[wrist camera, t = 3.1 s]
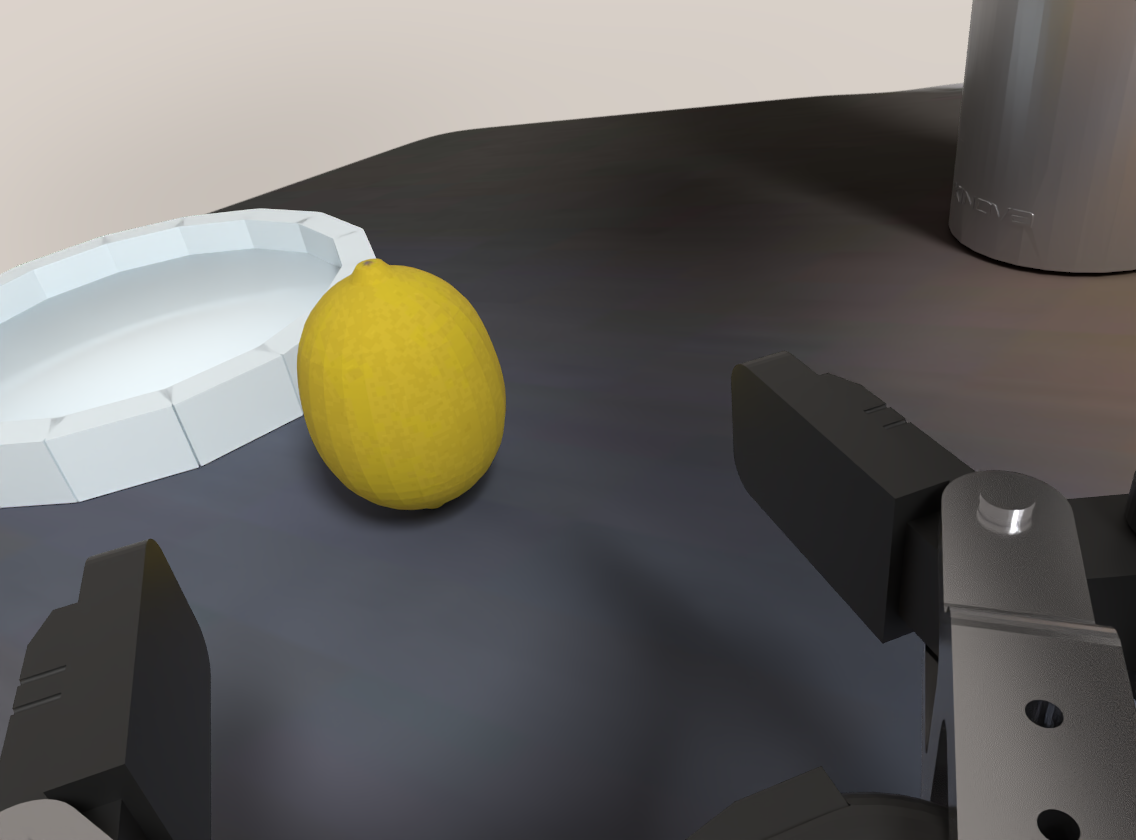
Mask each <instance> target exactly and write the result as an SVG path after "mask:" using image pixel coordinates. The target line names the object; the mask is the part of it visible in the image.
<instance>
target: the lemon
mask: <svg viewBox="0 0 1136 840" xmlns="http://www.w3.org/2000/svg"><path fill="white" fill-rule="evenodd" d="M297 379H298V388H299V396H300V400H301V405H302V409H303V413H304V417H305V421H306V424H307V428H308V431H309V433H310V436H311V438H312V441H313V443H314V445H315V447H316V449H317V451H318V453H319V454H320V456H321V458H322V459H323V461H324V462H325V464H326V465H327V466H328V467H329V469H330V470H331V471H332V472H333V473H334V474H335V476H336V477H337V478H338V479H339V480H340V481H341V482H342V483H343V484H344V485H345V486H346V487H347V488H348V489H350V490H351V491H353V492H354V493H355V494H357V495H359V496H361V497H363V498H365V499H367V500H368V501H371V502H373V503H375V504H377V505H381V506H385V507H389V508H394V509H398V510H418V509H425V508H428V509H435V508H438V507H440V506H442V505H443V504H444V503H446V502H448V501H451V500H453V499H455V498H457V497H459V496H460V495H462V494H463V493H465V492H466V491H467V490H469V489H470V488H471V487H472V486H473V485H474V484H475V483H476V482H477V481H478V480H479V479H480V478H481V477H482V476H483V475H484V474H485V473H486V471H487V470H488V468H489V466H490V465H491V463H492V461H493V459H494V457H495V455H496V453H497V451H498V449H499V446H500V444H501V440H502V436H503V430H504V421H505V412H506V396H505V386H504V380H503V375H502V371H501V367H500V364H499V361H498V358H497V355H496V352H495V350H494V347H493V344H492V342H491V340H490V337H489V335H488V333H487V330H486V328H485V326H484V325H483V323H482V321H481V319H480V317H479V316H478V314H477V312H476V311H475V309H474V308H473V307H472V305H471V304H470V303H469V301H468V300H467V299H466V298H465V297H464V296H463V295H462V294H461V293H459V292H458V291H457V290H456V289H455V288H454V287H453V286H451V285H450V284H448V283H447V282H445V281H444V280H442V279H441V278H439V277H436V276H434V275H432V274H430V273H427V272H425V271H422V270H419V269H416V268H412V267H407V266H398V265H388V264H386V263H385V262H383V261H382V260H380V259H368V260H364V261H362V262H360V263H358V264H357V265H356V267H355V269H354V271H353V272H352V274H351V275H349V276H347V277H346V278H344V279H342V280H341V281H339V282H337V283H336V284H335V285H334V286H332V287H331V288H330V289H329V290H328V291H327V292H326V293H325V294H324V295H323V296H322V297H321V299H320V300H319V301H318V303H317V304H316V305H315V307H314V308H313V309H312V311H311V312H310V314H309V316H308V318H307V320H306V322H305V324H304V328H303V331H302V334H301V338H300V342H299V346H298V354H297Z"/></svg>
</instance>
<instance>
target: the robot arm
mask: <svg viewBox="0 0 1136 840" xmlns="http://www.w3.org/2000/svg"><path fill="white" fill-rule="evenodd" d="M948 225H949V227H950V230H951V233H952V234H953V235H954V236H955V237H956V238H957V239H958V240H959V242H960V243H962V244H964V245H965V246H967V247H969V248H970V249H972V250H973V251H975V252H978V253H980V254H983V255H985V256H988V257H990V258H993V259H996V260H1000V261H1003V262H1007V263H1011V264H1014V265H1018V266H1024V267H1030V268H1036V269H1042V270H1051V271H1063V272H1094V273H1104V272H1116V271H1128V270H1135V269H1136V0H973V4H972V12H971V22H970V31H969V40H968V49H967V59H966V67H965V76H964V85H963V95H962V104H961V113H960V122H959V130H958V140H957V150H956V160H955V169H954V178H953V187H952V196H951V205H950V214H949V223H948ZM731 390H732V417H733V445H734V458H735V464H736V468H737V471H738V474H739V476H740V479H741V481H742V483H743V485H744V487H745V489H746V490H747V492H748V493H749V494H750V496H751V497H752V498H753V499H754V500H755V501H756V502H757V503H758V505H759V506H760V507H761V508H762V509H763V510H764V511H765V512H766V514H767V515H768V516H769V517H770V518H771V519H772V520H773V521H774V522H775V524H776V525H777V526H778V527H779V528H780V529H781V530H782V531H783V533H784V534H785V535H786V536H787V537H788V538H789V539H790V540H791V542H792V543H793V544H794V545H795V546H796V547H797V548H798V549H799V550H800V552H801V553H802V554H803V555H804V556H805V557H806V558H807V559H808V561H809V562H810V563H811V564H812V565H813V566H814V567H815V568H816V569H817V571H818V572H819V573H820V574H821V575H822V576H823V577H824V578H825V580H826V581H827V582H828V583H829V584H830V585H831V586H832V587H833V588H834V590H835V591H836V592H837V593H838V594H839V595H840V596H841V597H842V599H843V600H844V601H845V602H846V603H847V604H848V605H849V606H850V607H851V609H852V610H853V611H854V612H855V613H856V614H857V615H858V616H859V618H860V619H861V620H862V621H863V622H864V623H865V624H866V625H867V627H868V628H869V629H870V630H871V631H872V632H873V633H874V634H875V635H876V637H877V638H878V639H879V640H880V641H881V642H882V643H885V642H888V641H890V640H893V639H896V638H898V637H901V636H903V635H906V634H909V633H911V632H915V633H916V634H917V635H918V636H919V637H920V638H921V639H922V640H923V641H924V648H923V656H922V773H921V796H920V799H919V798H914V797H909V796H905V795H900V794H890V793H880V792H850V793H842V794H841V793H840V792H839V790H838V789H837V788H836V786H835V785H834V783H833V782H832V780H831V779H830V778H829V776H828V775H827V773H826V772H825V770H824V769H823V768H822V766H820V767H818V768H815V769H813V770H811V771H808V772H806V773H803V774H801V775H798V776H796V777H794V778H791V779H789V780H786V781H784V782H781V783H779V784H777V785H774V786H772V787H769V788H767V789H764V790H762V791H760V792H757V793H755V794H752V795H750V796H747V797H745V798H743V799H740V800H738V801H735V802H734V803H733V804H731V805H730V806H729V807H727V808H726V809H725V810H723V811H722V812H721V813H720V814H718V815H717V816H716V817H714V818H713V819H712V820H710V821H709V822H708V823H707V824H705V825H704V826H703V827H701V828H700V829H699V830H697V831H696V832H695V833H694V834H692V835H691V836H690V837H688V838H687V839H686V840H1136V708H1135V703H1134V699H1135V700H1136V471H1135V473H1134V477H1133V481H1132V485H1131V489H1130V492H1129V494H1122V495H1110V496H1099V497H1088V498H1077V499H1066V498H1065V497H1064V496H1063V495H1062V494H1061V493H1060V492H1059V491H1057V490H1056V489H1055V488H1053V487H1052V486H1050V485H1048V484H1047V483H1045V482H1043V481H1041V480H1038V479H1036V478H1033V477H1030V476H1027V475H1024V474H1020V473H1015V472H1009V471H997V470H989V471H978V472H975V471H974V470H973V469H971V468H970V467H969V466H967V465H966V464H965V463H963V462H962V461H961V460H959V459H958V458H957V457H955V456H954V455H953V454H952V453H950V452H949V451H948V450H946V449H945V448H944V447H942V446H941V445H940V444H938V443H937V442H936V441H934V440H933V439H932V438H930V437H929V436H928V435H926V434H925V433H924V432H923V431H921V430H920V429H919V428H917V427H916V426H915V425H913V424H912V423H911V422H910V423H906V420H905V418H904V417H903V416H901V415H900V414H899V413H897V412H896V411H895V410H894V409H892V408H891V407H889V408H887V407H886V403H884V402H883V401H882V400H880V399H879V398H878V397H876V396H875V395H874V394H872V393H871V392H870V391H868V390H867V389H866V388H865V387H863V386H862V385H860V384H857V383H854V382H851V381H849V380H846V379H843V378H840V377H837V376H835V375H832V374H829V373H826V374H823V375H820V376H819V375H817V374H816V373H815V372H814V371H812V370H811V369H810V368H809V367H807V366H806V365H805V364H804V363H802V362H801V361H800V360H799V359H797V358H796V357H795V356H794V355H792V354H791V353H789V352H787V351H781V352H778V353H775V354H771V355H768V356H765V357H761V358H758V359H755V360H751V361H748V362H745V363H741V364H738V365H736V366H735V367H734V369H733V372H732V377H731ZM19 680H20V683H21V686H18V687H17V692H16V696H15V700H14V704H13V710H14V715H11V717H10V721H9V725H8V729H7V733H6V737H5V741H4V746H3V750H2V754H1V758H0V840H211V674H210V662H209V656H208V652H207V647H206V644H205V640H204V637H203V634H202V631H201V629H200V626H199V624H198V622H197V620H196V618H195V616H194V614H193V612H192V610H191V608H190V606H189V604H188V602H187V600H186V598H185V596H184V594H183V592H182V590H181V588H180V586H179V584H178V582H177V580H176V578H175V576H174V574H173V572H172V570H171V568H170V566H169V564H168V562H167V560H166V558H165V556H164V554H163V552H162V550H161V548H160V547H159V545H158V544H157V543H156V542H155V541H154V540H153V539H148V540H144V541H141V542H138V543H134V544H131V545H128V546H124V547H121V548H117V549H114V550H111V551H107V552H104V553H101V554H97V555H94V556H91V557H89V558H88V559H87V560H86V563H85V567H84V573H83V578H82V583H81V589H80V594H79V600H78V603H75V604H71V605H68V606H65V607H62V608H58V609H55V610H53V611H52V612H51V614H50V615H49V616H48V618H47V619H46V621H45V622H44V623H43V625H42V626H41V628H40V629H39V630H38V632H37V633H36V635H35V636H34V637H33V639H32V640H31V641H30V643H29V644H28V646H27V650H26V654H25V658H24V663H23V667H22V671H21V675H20V679H19ZM1133 698H1134V699H1133Z"/></svg>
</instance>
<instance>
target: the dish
mask: <svg viewBox="0 0 1136 840" xmlns="http://www.w3.org/2000/svg"><path fill="white" fill-rule="evenodd" d="M368 259H376V257H375V255H374V253H373V250H372V248H371V246H370V244H369V241H368V239H367V237H366V234H365V232H364V230H363V229H362V228H360V227H357V226H355V225H352V224H350V223H347V222H345V221H342V220H340V219H337V218H335V217H332V216H330V215H327V214H325V213H322V212H310V211H293V210H277V209H250V210H241V211H232V212H223V213H214V214H204V215H196V216H186V217H185V218H184V217H181V218H177V219H173V220H168V221H164V222H160V223H156V224H151V225H147V226H143V227H138V228H134V229H130V230H126V231H121V232H117V233H113V234H108V235H104V236H101V237H98V238H95V239H93V240H89V241H87V242H84V243H81V244H78V245H75V246H72V247H69V248H67V249H64V250H61V251H58V252H55V253H52V254H50V255H47V256H44V257H41V258H38V259H35V260H32V261H30V262H26V263H24V264H21V265H20V266H16V267H14V268H12V269H10V270H8V271H6V272H4V273H2V274H0V508H4V507H19V506H33V505H48V504H62V503H76V502H78V501H79V502H81V501H84V500H88V499H91V498H95V497H98V496H102V495H105V494H109V493H112V492H116V491H119V490H122V489H126V488H129V487H133V486H136V485H140V484H143V483H147V482H150V481H153V480H157V479H160V478H164V477H167V476H171V475H174V474H178V473H181V472H185V471H188V470H191V469H195V468H198V467H199V465H200V466H203V465H205V464H207V463H209V462H211V461H213V460H215V459H217V458H219V457H221V456H223V455H225V454H227V453H229V452H231V451H233V450H235V449H237V448H239V447H241V446H243V445H245V444H247V443H249V442H251V441H253V440H255V439H257V438H259V437H261V436H263V435H264V434H266V433H268V432H270V431H272V430H274V429H276V428H278V427H280V426H282V425H284V424H286V423H288V422H290V421H292V420H294V419H296V418H298V417H300V416H302V415H303V414H304V413H303V409H302V405H301V400H300V396H299V388H298V379H297V354H298V346H299V342H300V338H301V334H302V331H303V328H304V324H305V322H306V320H307V318H308V316H309V314H310V312H311V311H312V309H313V308H314V307H315V305H316V304H317V303H318V301H319V300H320V299H321V297H322V296H323V295H324V294H325V293H326V292H327V291H328V290H329V289H330V288H331V287H332V286H334V285H335V284H336V283H337V282H339V281H341V280H342V279H344V278H346V277H347V276H349V275H351V274H352V272H353V271H354V269H355V267H356V265H357V264H358V263H360V262H362V261H364V260H368Z"/></svg>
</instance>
